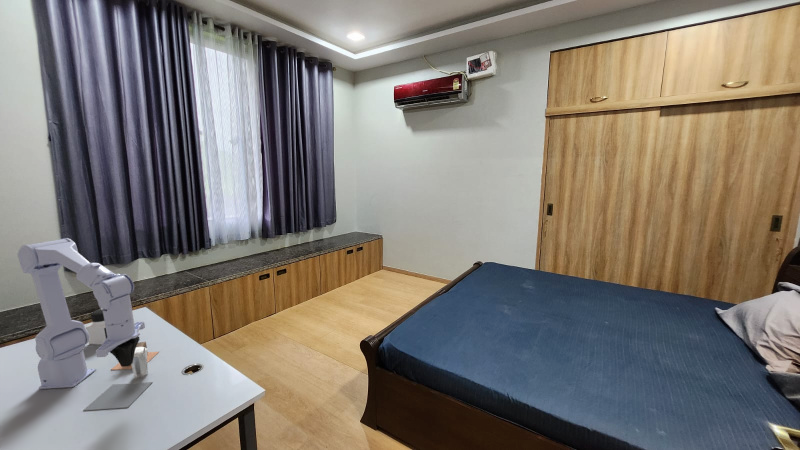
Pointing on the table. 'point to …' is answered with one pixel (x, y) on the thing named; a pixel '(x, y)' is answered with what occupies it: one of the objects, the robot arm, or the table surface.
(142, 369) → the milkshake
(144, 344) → the walnut block
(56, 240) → the robot arm
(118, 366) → the tile terracotta
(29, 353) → the table surface
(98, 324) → the medicine bottle
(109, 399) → the tile slate
